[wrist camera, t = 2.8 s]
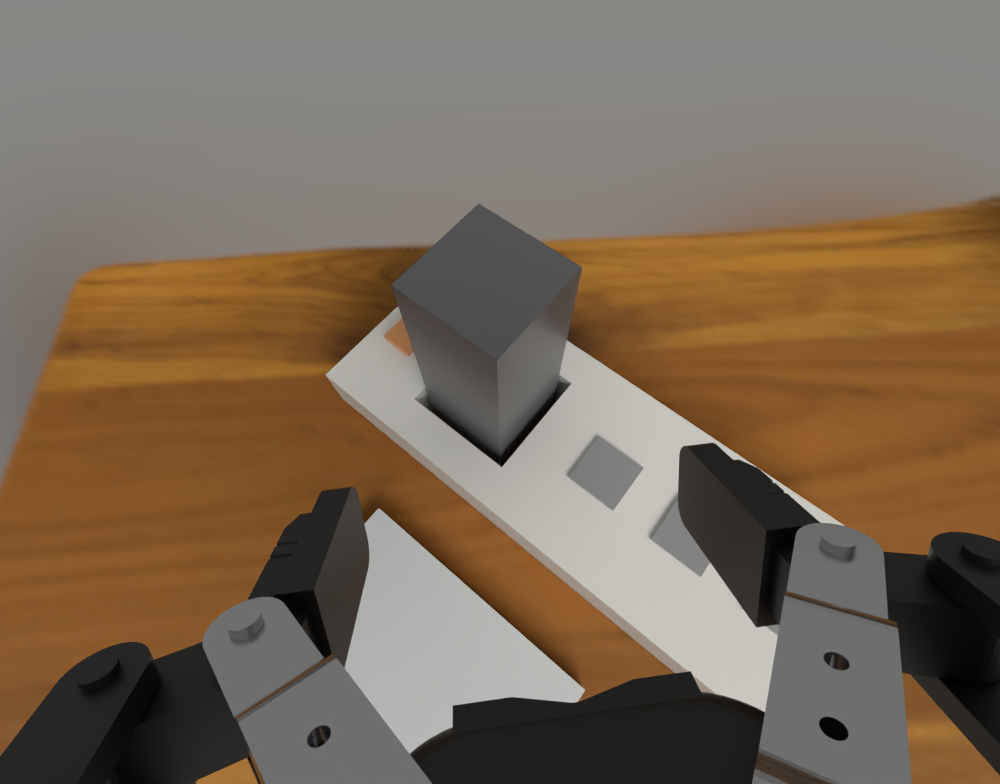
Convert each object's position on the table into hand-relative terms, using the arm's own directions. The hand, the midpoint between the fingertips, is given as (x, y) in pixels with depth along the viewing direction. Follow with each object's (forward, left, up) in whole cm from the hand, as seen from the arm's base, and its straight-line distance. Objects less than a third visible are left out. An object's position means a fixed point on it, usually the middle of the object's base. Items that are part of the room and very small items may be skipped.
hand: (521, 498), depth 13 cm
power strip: (-5, 0, -13) cm, 14 cm away
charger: (-5, -5, -13) cm, 15 cm away
